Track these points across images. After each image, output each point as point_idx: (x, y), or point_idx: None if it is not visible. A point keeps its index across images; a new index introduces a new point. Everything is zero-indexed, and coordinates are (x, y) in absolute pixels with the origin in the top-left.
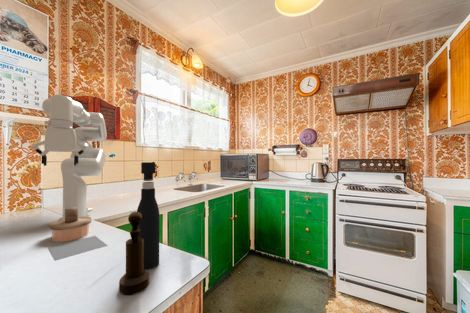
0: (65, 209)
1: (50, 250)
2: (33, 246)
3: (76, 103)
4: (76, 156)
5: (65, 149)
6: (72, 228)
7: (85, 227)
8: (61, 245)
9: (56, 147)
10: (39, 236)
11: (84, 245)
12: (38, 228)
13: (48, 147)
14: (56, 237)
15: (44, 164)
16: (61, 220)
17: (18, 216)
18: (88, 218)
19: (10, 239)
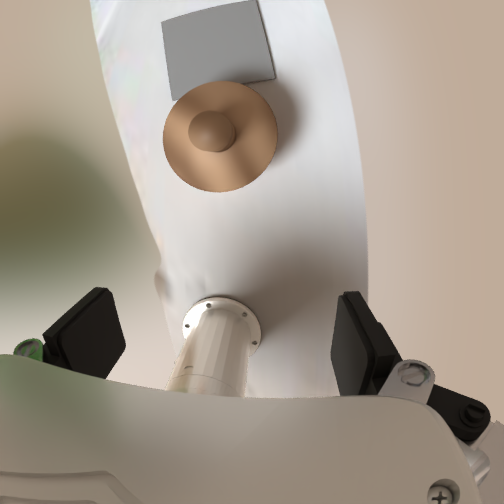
0: (228, 127)
1: (267, 51)
2: (305, 119)
3: None
4: (45, 333)
5: (67, 390)
6: None
7: None
8: (246, 70)
9: (223, 460)
10: (300, 204)
11: (201, 42)
12: (304, 294)
13: (407, 442)
14: None
15: (354, 292)
16: (246, 168)
17: None
18: (170, 141)
19: (356, 226)
